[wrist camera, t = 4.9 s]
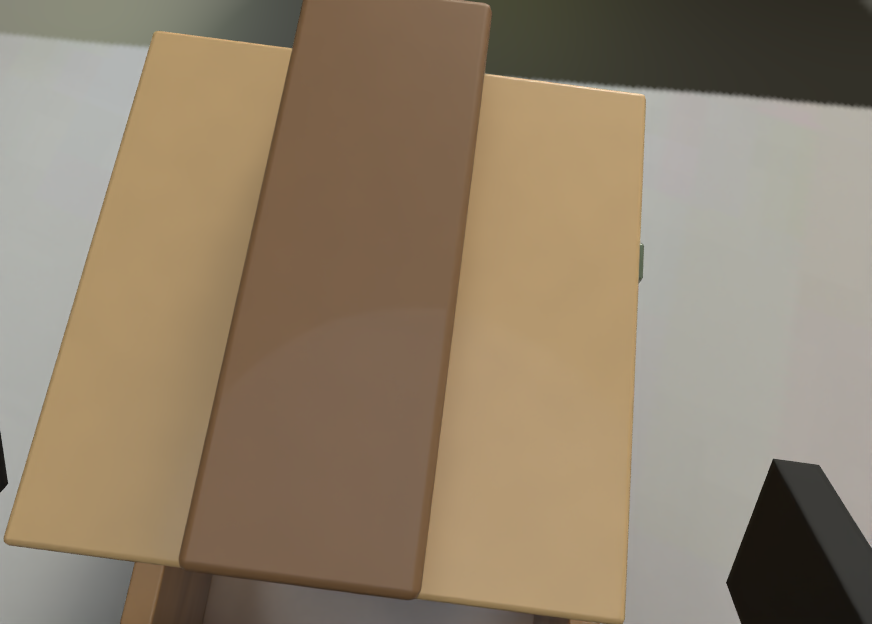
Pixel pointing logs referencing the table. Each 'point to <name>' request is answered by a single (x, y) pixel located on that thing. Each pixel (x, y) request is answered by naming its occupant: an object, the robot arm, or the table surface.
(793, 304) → the table surface
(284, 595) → the drawer
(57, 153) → the table surface
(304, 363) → the coffee bag
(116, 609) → the table surface
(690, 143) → the table surface
